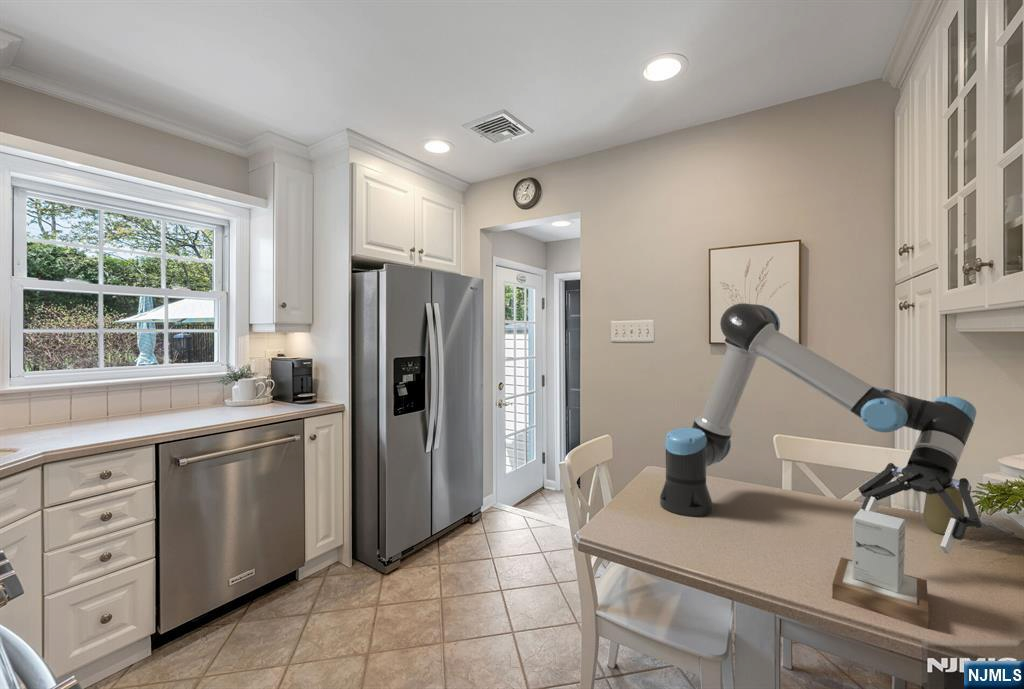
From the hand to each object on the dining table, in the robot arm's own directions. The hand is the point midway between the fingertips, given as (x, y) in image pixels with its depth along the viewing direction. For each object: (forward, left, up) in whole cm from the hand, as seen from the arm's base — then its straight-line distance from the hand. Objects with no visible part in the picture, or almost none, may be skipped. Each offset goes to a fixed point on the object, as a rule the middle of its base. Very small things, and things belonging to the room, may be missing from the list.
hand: (901, 536), depth 93 cm
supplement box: (-3, -9, -7) cm, 12 cm away
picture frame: (-3, -9, -10) cm, 14 cm away
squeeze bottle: (+8, +40, -10) cm, 42 cm away
